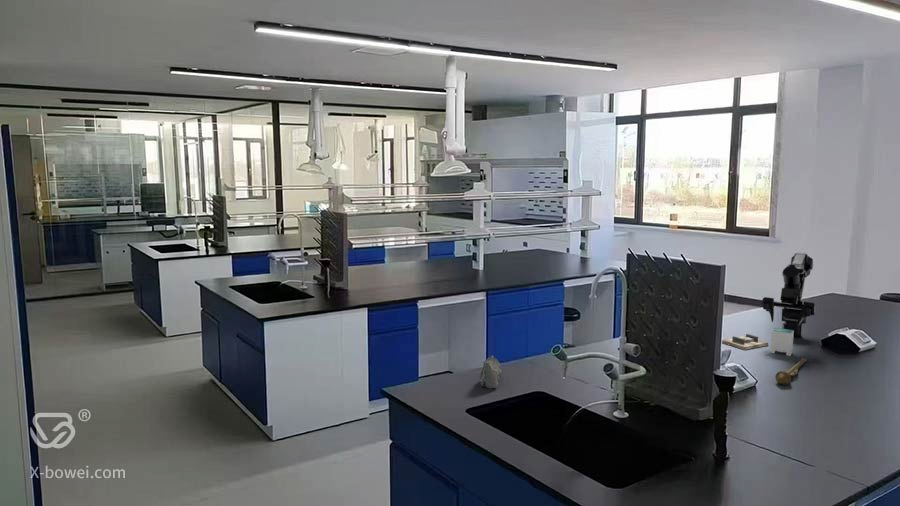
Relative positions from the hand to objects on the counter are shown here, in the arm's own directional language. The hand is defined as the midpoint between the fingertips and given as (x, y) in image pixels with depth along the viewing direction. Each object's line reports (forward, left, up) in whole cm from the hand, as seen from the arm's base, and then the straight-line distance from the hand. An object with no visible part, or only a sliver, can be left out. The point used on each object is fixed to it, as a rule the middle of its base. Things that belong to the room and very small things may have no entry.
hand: (785, 323), depth 242 cm
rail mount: (+13, -5, -11) cm, 18 cm away
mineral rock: (+105, +68, -11) cm, 126 cm away
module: (+2, +4, -11) cm, 12 cm away
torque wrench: (+3, +30, -12) cm, 32 cm away
